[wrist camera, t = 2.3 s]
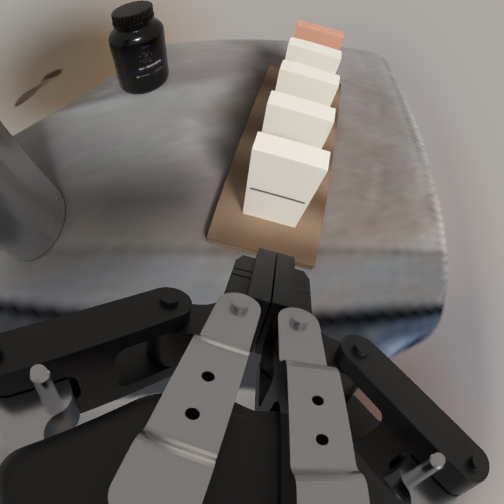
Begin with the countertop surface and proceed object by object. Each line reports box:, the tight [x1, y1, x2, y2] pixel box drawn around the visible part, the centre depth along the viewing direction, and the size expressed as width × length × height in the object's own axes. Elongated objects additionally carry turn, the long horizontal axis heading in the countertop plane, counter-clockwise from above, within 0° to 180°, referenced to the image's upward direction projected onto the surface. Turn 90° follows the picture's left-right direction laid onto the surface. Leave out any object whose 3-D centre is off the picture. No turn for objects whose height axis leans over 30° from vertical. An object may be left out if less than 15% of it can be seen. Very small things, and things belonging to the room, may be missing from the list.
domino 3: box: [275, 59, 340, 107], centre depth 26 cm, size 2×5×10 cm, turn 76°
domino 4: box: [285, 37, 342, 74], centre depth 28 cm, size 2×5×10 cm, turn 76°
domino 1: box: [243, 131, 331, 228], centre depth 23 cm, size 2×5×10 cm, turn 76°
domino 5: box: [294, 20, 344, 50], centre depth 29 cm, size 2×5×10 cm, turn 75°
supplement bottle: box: [108, 1, 169, 94], centre depth 28 cm, size 7×7×12 cm
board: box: [207, 64, 341, 270], centre depth 31 cm, size 26×10×1 cm, turn 166°
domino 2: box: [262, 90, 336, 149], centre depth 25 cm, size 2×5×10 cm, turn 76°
